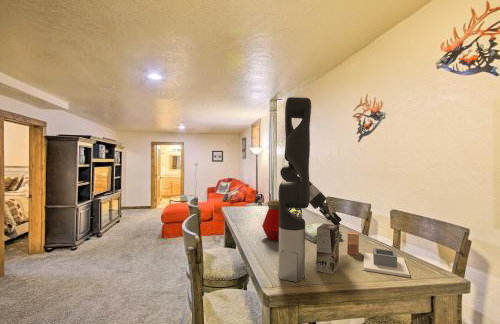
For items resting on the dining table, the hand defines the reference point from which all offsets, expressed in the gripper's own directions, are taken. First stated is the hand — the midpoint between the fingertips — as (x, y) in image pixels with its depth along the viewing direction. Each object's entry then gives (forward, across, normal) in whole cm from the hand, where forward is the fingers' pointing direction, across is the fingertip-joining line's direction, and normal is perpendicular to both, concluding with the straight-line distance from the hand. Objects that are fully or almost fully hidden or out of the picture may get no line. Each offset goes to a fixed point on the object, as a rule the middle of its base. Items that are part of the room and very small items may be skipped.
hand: (339, 223), depth 123 cm
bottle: (-14, +6, +32) cm, 35 cm away
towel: (0, +21, +18) cm, 28 cm away
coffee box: (+8, -23, +10) cm, 27 cm away
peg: (+13, 0, +5) cm, 14 cm away
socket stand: (+22, -10, -4) cm, 24 cm away
